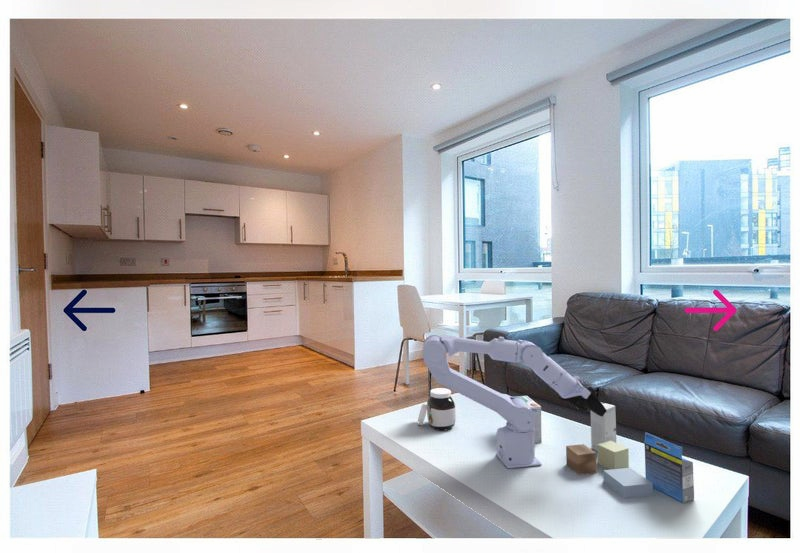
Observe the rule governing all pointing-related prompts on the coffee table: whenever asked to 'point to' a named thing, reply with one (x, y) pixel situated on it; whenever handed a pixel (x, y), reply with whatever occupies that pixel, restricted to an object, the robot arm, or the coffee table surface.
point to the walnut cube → (581, 459)
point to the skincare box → (603, 426)
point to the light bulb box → (537, 412)
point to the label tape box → (668, 469)
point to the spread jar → (439, 409)
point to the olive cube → (613, 455)
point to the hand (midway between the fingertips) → (595, 410)
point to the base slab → (628, 482)
